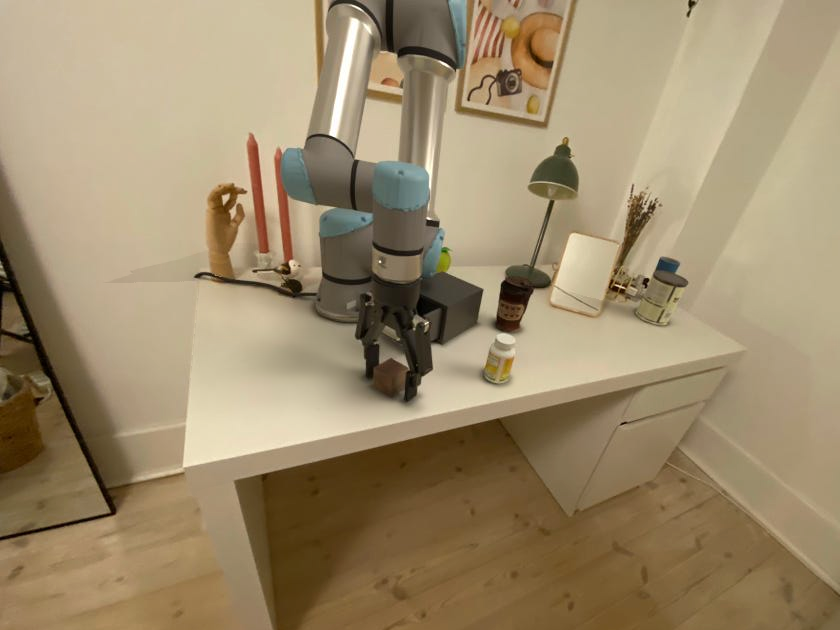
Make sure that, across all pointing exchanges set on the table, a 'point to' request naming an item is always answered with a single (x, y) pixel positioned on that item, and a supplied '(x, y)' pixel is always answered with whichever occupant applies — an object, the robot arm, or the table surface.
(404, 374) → the block
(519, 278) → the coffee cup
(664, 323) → the coffee can
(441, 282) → the cabinet
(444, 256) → the fruit
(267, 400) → the table surface
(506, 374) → the supplement bottle
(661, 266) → the cup
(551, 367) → the table surface
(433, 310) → the drawer
